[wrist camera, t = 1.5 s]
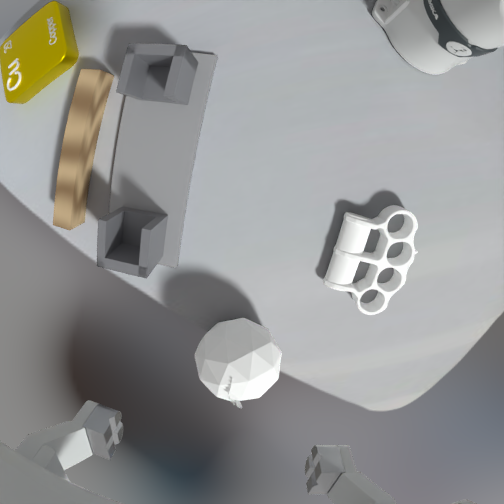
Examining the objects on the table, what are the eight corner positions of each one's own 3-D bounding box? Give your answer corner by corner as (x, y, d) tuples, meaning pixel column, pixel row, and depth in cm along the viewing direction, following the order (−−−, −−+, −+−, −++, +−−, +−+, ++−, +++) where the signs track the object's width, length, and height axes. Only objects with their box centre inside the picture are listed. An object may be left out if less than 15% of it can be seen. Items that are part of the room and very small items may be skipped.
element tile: (82, 61, 34) (66, 55, 30) (21, 108, 36) (4, 107, 32) (68, 3, 30) (54, -5, 25) (11, 49, 31) (-4, 46, 27)
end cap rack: (140, 51, 34) (116, 33, 26) (217, 57, 35) (209, 36, 27) (109, 250, 45) (83, 272, 37) (177, 265, 46) (162, 292, 37)
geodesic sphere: (292, 392, 48) (290, 410, 35) (217, 404, 49) (192, 422, 36) (276, 314, 52) (269, 306, 39) (202, 329, 53) (173, 325, 40)
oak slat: (96, 74, 35) (81, 68, 31) (114, 76, 36) (100, 69, 31) (69, 217, 43) (53, 224, 39) (85, 221, 44) (69, 230, 39)
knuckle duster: (348, 189, 42) (424, 215, 43) (314, 296, 48) (388, 309, 49) (356, 193, 39) (435, 220, 40) (318, 306, 45) (395, 319, 46)
